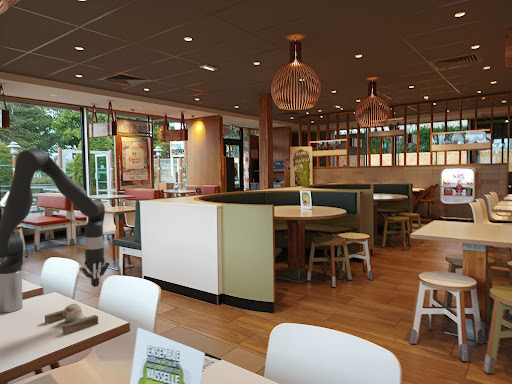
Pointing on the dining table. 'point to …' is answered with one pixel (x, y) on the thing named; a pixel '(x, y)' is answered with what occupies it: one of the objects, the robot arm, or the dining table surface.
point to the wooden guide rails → (74, 325)
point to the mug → (73, 313)
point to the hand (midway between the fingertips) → (95, 286)
